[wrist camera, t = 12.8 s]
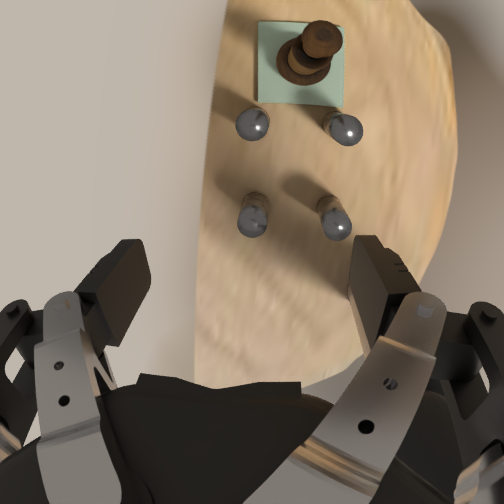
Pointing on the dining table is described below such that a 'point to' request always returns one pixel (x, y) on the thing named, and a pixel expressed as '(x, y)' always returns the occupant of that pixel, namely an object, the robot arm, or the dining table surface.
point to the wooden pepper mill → (309, 53)
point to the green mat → (281, 90)
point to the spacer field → (329, 207)
